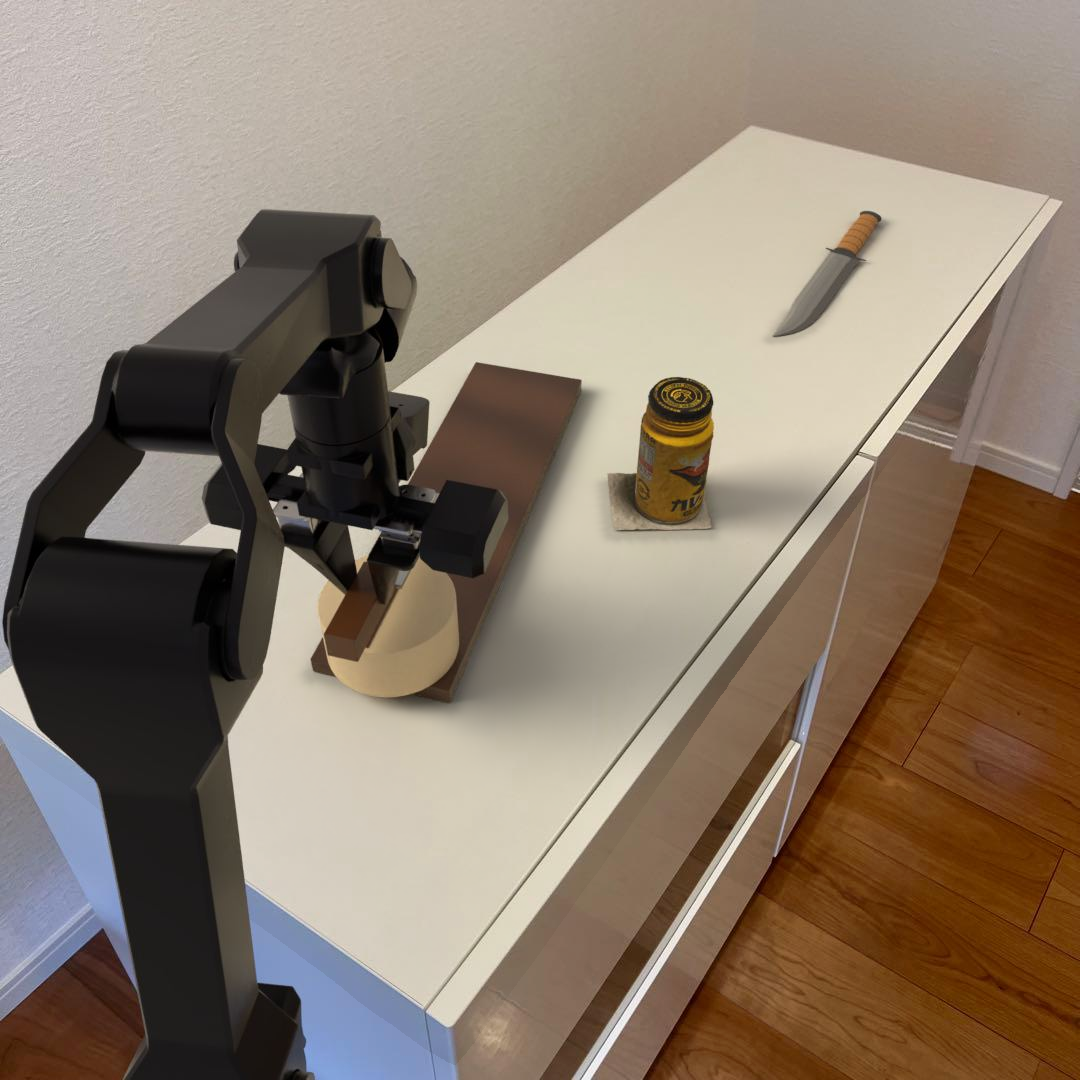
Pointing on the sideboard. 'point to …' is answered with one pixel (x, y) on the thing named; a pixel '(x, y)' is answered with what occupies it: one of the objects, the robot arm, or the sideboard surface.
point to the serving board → (491, 477)
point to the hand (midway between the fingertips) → (369, 596)
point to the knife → (828, 276)
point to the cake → (401, 636)
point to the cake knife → (357, 616)
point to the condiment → (668, 461)
